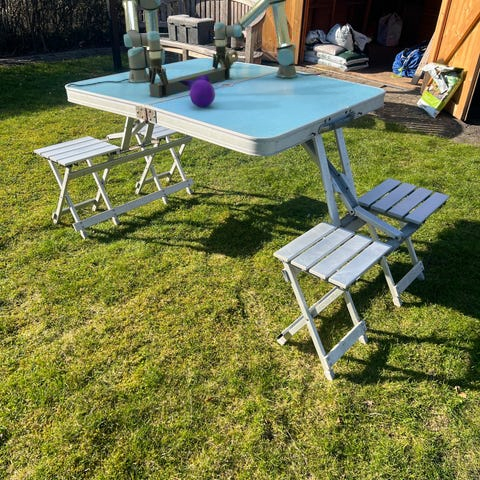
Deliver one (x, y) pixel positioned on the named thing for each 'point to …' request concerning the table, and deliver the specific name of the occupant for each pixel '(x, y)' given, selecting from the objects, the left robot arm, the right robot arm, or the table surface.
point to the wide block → (176, 86)
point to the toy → (201, 91)
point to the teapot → (229, 58)
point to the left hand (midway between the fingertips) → (159, 94)
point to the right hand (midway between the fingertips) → (222, 78)
